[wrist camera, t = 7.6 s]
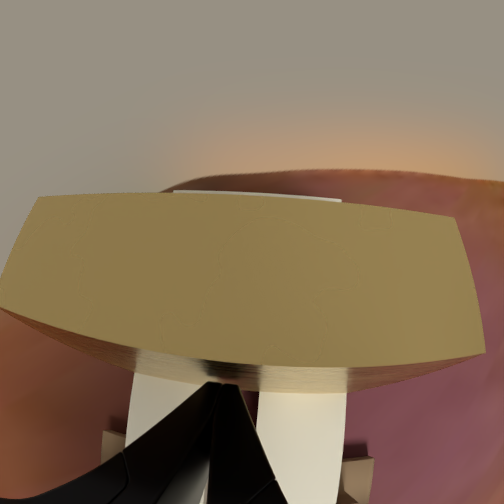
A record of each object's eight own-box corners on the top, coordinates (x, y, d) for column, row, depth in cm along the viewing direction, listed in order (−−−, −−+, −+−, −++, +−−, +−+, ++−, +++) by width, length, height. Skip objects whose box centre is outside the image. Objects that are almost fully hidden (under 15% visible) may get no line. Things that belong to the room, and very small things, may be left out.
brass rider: (342, 393, 12) (485, 352, 3) (140, 374, 12) (-9, 303, 4) (338, 251, 16) (396, 103, 7) (170, 240, 16) (113, 96, 8)
